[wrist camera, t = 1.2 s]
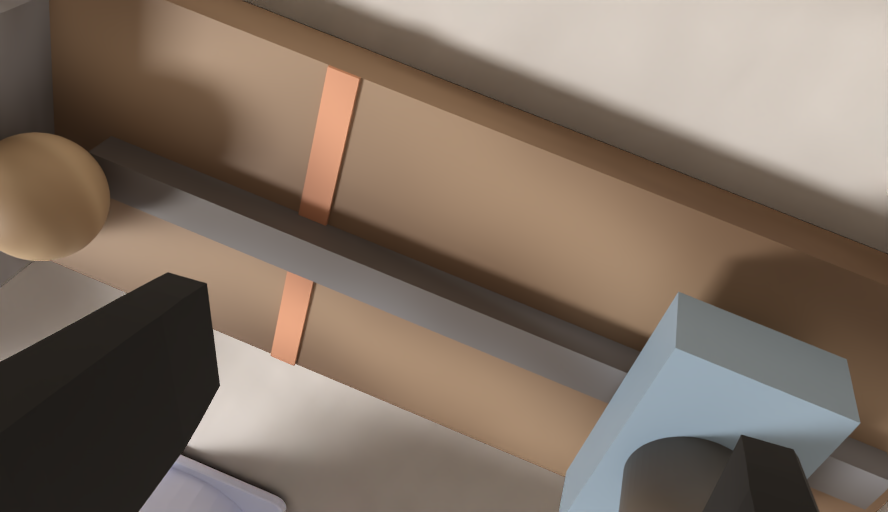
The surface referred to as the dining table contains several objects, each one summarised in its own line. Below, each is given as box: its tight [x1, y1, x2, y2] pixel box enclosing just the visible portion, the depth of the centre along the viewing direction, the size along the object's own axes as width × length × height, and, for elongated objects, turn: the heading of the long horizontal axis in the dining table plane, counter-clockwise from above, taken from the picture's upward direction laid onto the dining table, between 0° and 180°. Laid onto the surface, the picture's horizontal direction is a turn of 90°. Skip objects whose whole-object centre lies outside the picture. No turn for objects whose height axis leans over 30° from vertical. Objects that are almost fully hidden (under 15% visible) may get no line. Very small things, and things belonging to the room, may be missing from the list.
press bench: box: [0, 0, 888, 512], centre depth 20 cm, size 10×28×6 cm, turn 74°
